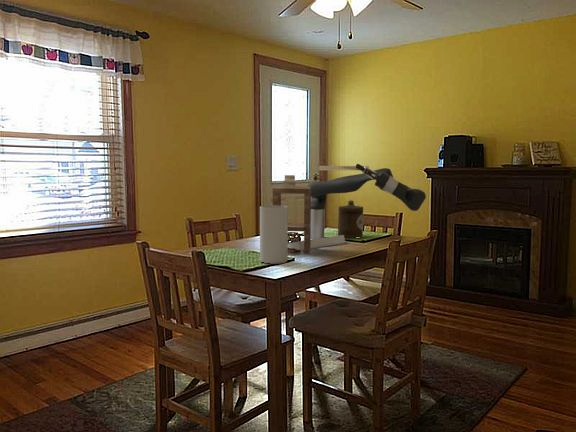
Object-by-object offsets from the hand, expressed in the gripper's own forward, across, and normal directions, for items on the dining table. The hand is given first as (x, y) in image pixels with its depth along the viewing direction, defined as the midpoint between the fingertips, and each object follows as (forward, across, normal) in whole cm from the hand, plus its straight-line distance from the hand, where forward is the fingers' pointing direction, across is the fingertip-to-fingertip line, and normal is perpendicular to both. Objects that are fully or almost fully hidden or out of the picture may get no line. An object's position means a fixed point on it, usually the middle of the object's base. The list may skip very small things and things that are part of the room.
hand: (356, 165), depth 251 cm
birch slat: (+4, 0, +5) cm, 7 cm away
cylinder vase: (+11, +26, +56) cm, 63 cm away
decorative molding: (-5, -21, +48) cm, 53 cm away
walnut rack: (+6, -3, +53) cm, 54 cm away
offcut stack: (+24, -8, +26) cm, 36 cm away
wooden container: (-21, -53, +38) cm, 69 cm away
